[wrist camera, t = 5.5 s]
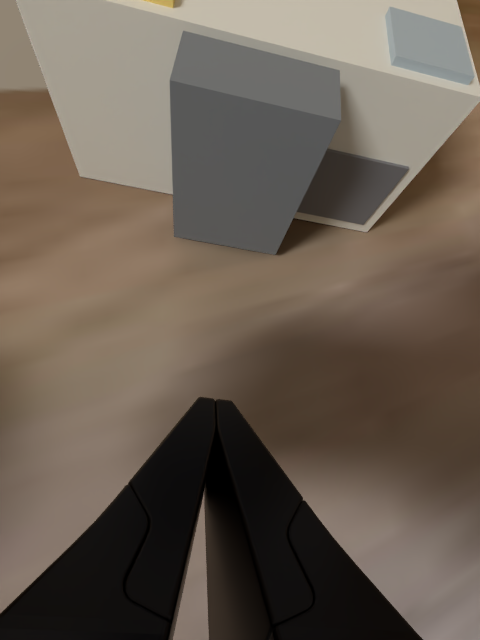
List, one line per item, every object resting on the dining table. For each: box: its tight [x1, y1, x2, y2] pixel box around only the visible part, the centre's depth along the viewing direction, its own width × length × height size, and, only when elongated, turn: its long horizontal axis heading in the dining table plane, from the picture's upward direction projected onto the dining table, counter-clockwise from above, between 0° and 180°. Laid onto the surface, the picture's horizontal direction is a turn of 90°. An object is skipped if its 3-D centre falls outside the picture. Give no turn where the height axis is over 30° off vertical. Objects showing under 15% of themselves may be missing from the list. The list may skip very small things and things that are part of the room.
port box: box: [15, 0, 480, 232], centre depth 16 cm, size 10×16×8 cm, turn 84°
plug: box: [170, 31, 341, 255], centre depth 15 cm, size 9×5×8 cm, turn 174°
